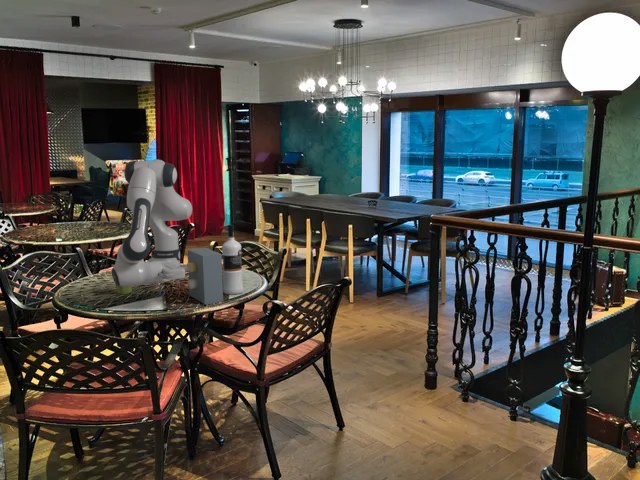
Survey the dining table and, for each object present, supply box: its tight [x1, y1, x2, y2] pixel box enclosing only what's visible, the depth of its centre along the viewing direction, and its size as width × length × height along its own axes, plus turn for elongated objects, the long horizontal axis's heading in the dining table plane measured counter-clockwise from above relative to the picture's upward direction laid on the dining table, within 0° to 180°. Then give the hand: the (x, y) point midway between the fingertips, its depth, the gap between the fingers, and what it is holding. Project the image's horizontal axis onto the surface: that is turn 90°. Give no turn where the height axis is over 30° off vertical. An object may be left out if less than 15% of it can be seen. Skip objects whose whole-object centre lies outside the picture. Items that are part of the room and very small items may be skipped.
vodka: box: [221, 224, 245, 296], centre depth 254 cm, size 9×9×30 cm
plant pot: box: [114, 282, 133, 295], centre depth 256 cm, size 9×9×9 cm
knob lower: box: [187, 278, 198, 290], centre depth 245 cm, size 14×4×4 cm, turn 122°
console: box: [186, 247, 224, 305], centre depth 245 cm, size 8×18×20 cm, turn 32°
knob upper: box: [186, 262, 197, 273], centre depth 244 cm, size 14×4×4 cm, turn 122°
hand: (188, 268), depth 241 cm, fingers closed, pressing on knob upper
